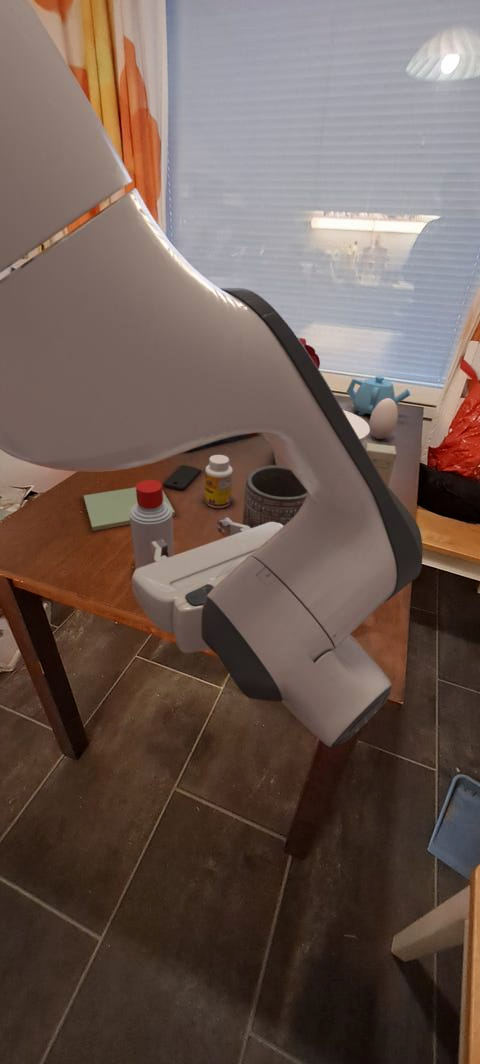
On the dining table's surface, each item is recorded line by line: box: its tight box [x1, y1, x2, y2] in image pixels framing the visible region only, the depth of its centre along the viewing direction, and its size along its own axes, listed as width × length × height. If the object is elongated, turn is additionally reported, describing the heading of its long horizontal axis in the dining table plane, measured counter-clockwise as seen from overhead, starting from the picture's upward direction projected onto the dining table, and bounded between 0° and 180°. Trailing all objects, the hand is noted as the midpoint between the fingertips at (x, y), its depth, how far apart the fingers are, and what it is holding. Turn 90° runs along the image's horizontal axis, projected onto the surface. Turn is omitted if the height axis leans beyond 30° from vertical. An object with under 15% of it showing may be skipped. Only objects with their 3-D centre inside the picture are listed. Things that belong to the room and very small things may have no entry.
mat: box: [83, 486, 176, 532], centre depth 85 cm, size 16×12×1 cm
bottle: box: [129, 502, 175, 570], centre depth 66 cm, size 6×6×16 cm
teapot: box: [346, 375, 411, 416], centre depth 137 cm, size 20×17×12 cm
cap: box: [135, 479, 164, 509], centre depth 62 cm, size 4×4×3 cm
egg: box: [368, 398, 399, 440], centre depth 120 cm, size 7×7×12 cm
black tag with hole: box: [163, 464, 202, 491], centre depth 96 cm, size 5×1×10 cm
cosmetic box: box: [364, 442, 397, 487], centre depth 91 cm, size 6×4×12 cm
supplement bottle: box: [204, 454, 234, 509], centre depth 86 cm, size 6×6×10 cm
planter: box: [242, 464, 307, 528], centre depth 76 cm, size 12×12×13 cm
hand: (190, 533), depth 53 cm, fingers open, 8 cm apart
